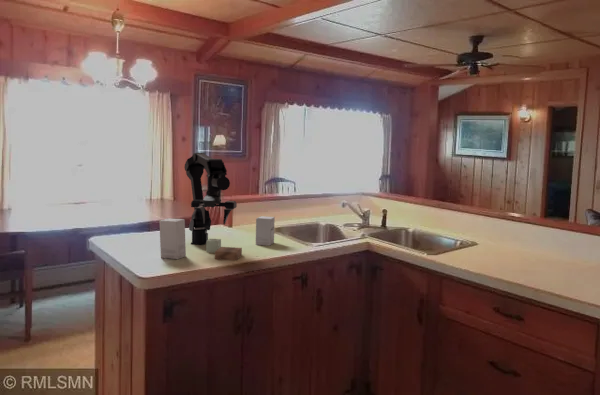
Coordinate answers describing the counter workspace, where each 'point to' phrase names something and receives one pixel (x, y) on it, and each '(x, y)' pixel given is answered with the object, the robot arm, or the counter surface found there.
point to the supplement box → (265, 230)
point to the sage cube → (213, 245)
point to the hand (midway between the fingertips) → (213, 223)
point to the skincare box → (172, 238)
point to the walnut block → (228, 253)
